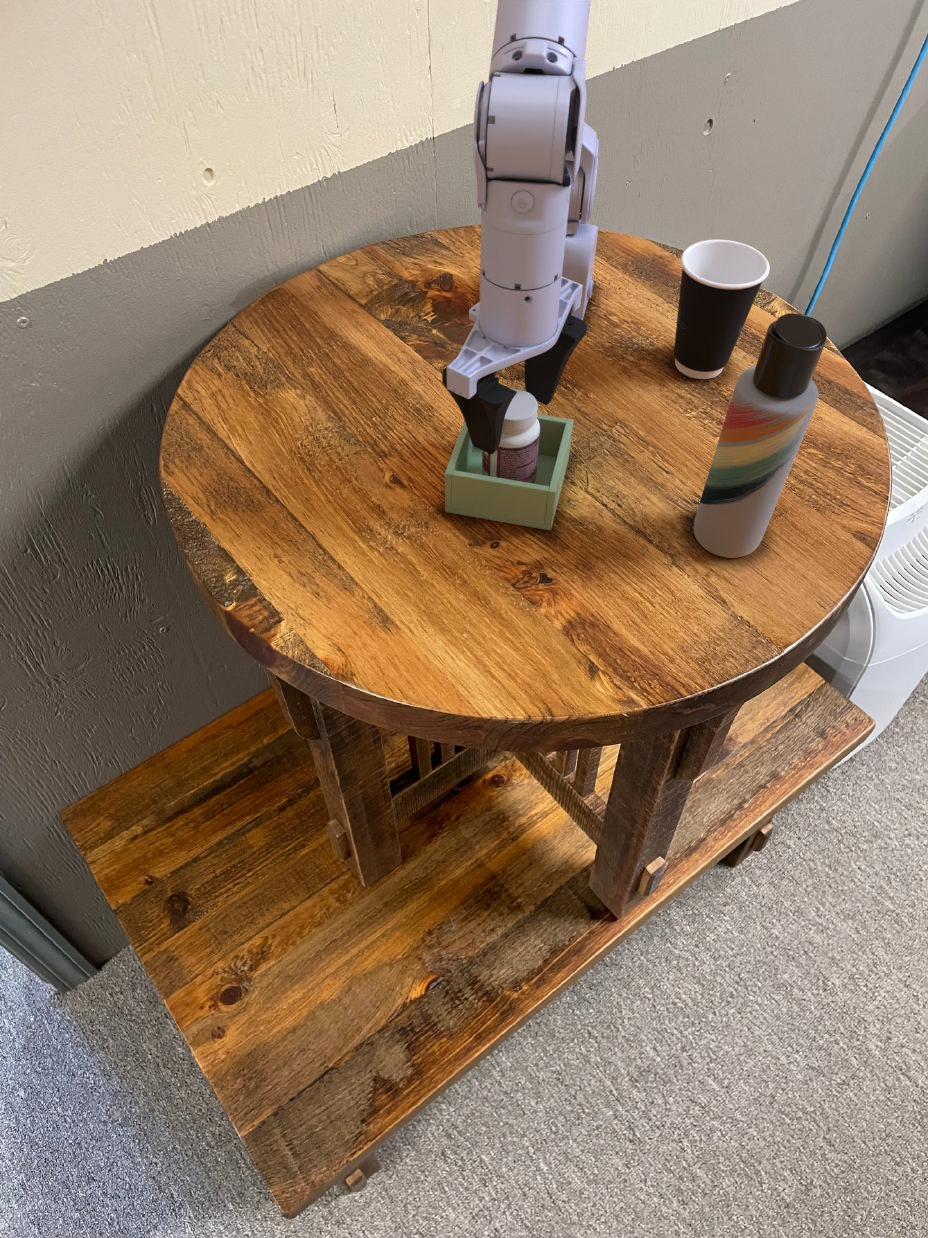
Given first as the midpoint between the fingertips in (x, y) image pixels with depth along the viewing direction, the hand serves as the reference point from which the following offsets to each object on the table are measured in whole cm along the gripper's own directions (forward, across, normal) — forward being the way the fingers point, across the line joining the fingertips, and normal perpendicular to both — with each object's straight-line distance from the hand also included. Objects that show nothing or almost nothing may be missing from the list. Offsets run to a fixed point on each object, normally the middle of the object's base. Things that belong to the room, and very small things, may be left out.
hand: (512, 422), depth 71 cm
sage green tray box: (+7, 0, 0) cm, 7 cm away
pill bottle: (+7, 0, 0) cm, 7 cm away
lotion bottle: (+7, -6, +18) cm, 20 cm away
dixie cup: (+7, -26, +5) cm, 27 cm away
